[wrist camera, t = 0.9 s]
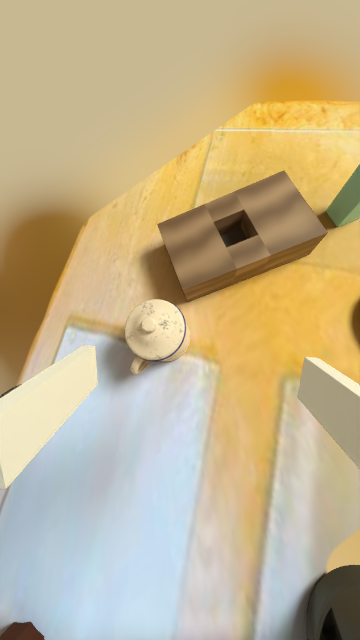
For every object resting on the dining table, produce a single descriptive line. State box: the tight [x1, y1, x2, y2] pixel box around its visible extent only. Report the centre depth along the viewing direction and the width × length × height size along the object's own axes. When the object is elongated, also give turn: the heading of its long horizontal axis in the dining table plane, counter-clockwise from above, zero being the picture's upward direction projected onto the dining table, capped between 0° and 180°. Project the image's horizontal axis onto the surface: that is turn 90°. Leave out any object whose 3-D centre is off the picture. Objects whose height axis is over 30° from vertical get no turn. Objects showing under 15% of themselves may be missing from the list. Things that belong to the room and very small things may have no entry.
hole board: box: [157, 171, 328, 302], centre depth 35 cm, size 14×24×6 cm, turn 110°
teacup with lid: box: [125, 299, 190, 374], centre depth 30 cm, size 12×9×12 cm
